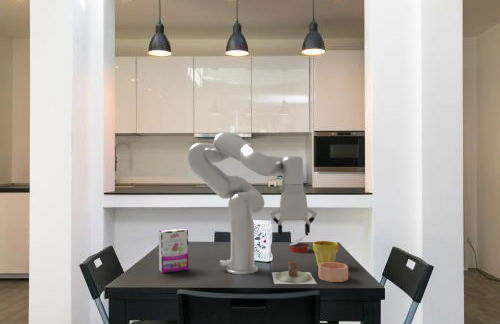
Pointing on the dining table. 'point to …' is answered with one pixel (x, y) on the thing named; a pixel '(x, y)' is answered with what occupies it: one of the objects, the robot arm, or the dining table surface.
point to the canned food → (299, 246)
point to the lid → (293, 274)
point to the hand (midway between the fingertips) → (293, 235)
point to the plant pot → (325, 251)
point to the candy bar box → (173, 250)
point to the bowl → (333, 271)
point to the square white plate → (293, 283)
